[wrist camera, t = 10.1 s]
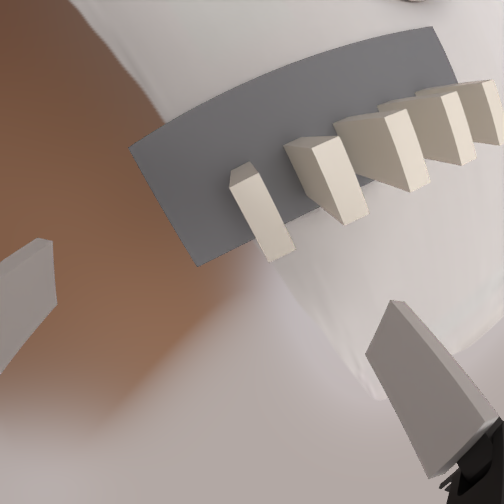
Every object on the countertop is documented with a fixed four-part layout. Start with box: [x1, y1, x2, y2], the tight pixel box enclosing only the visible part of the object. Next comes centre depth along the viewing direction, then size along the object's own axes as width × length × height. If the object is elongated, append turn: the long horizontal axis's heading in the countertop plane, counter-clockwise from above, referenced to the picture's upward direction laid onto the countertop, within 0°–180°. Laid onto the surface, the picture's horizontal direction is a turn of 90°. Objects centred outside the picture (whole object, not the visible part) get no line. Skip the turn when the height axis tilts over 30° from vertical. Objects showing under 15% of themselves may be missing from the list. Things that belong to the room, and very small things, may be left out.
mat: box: [128, 26, 458, 267], centre depth 25 cm, size 13×34×1 cm, turn 117°
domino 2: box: [283, 136, 370, 226], centre depth 21 cm, size 5×2×10 cm, turn 27°
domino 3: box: [332, 109, 431, 193], centre depth 20 cm, size 5×2×10 cm, turn 27°
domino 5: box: [415, 80, 504, 146], centre depth 19 cm, size 5×2×10 cm, turn 27°
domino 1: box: [229, 161, 296, 263], centre depth 22 cm, size 5×2×10 cm, turn 27°
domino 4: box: [377, 91, 477, 166], centre depth 20 cm, size 5×2×10 cm, turn 27°
